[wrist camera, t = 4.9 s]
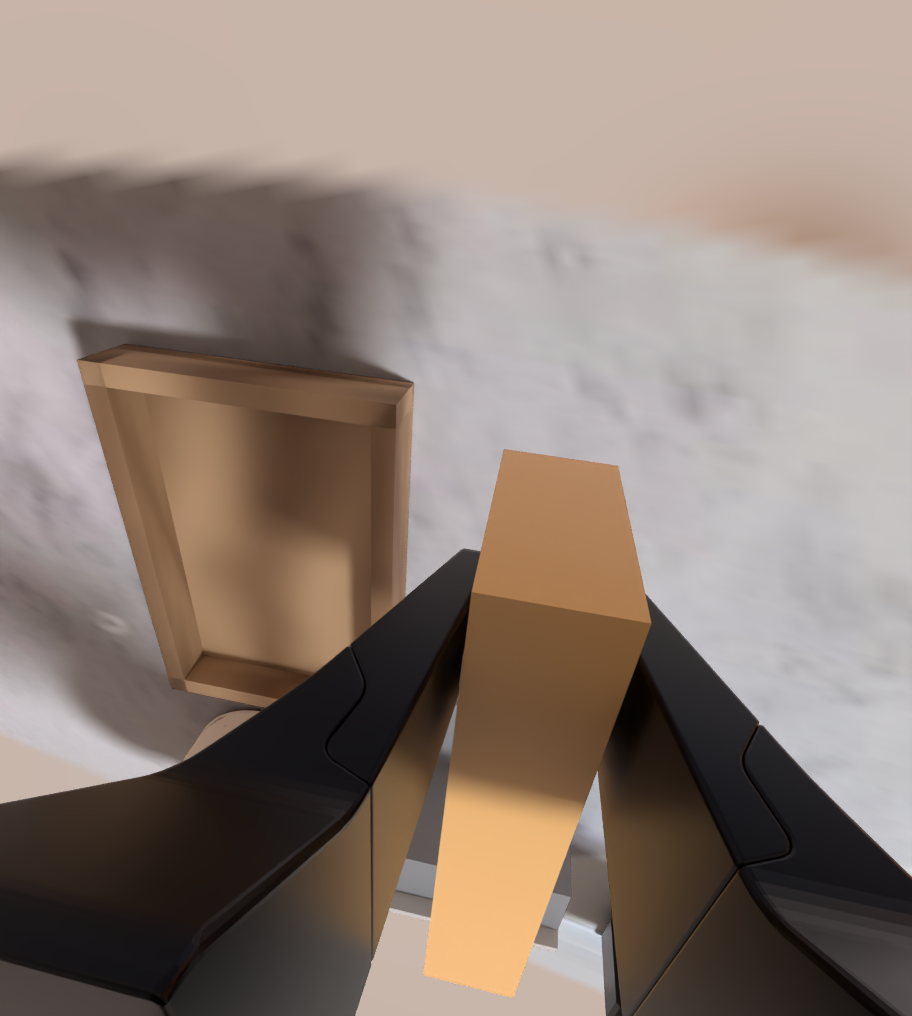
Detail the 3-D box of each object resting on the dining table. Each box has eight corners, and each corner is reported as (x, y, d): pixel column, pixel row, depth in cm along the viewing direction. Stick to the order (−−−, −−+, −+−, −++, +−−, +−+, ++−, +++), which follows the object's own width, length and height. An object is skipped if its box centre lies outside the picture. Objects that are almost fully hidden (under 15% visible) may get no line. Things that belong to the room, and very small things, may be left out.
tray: (413, 383, 18) (396, 404, 16) (401, 694, 26) (388, 733, 24) (124, 343, 19) (76, 359, 17) (198, 654, 27) (171, 688, 25)
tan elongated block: (620, 466, 9) (656, 624, 6) (526, 815, 15) (515, 998, 11) (501, 448, 9) (467, 590, 6) (452, 799, 15) (421, 974, 12)
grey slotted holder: (586, 672, 23) (596, 858, 17) (557, 769, 27) (556, 952, 20) (429, 643, 24) (379, 809, 17) (421, 740, 27) (378, 908, 21)
